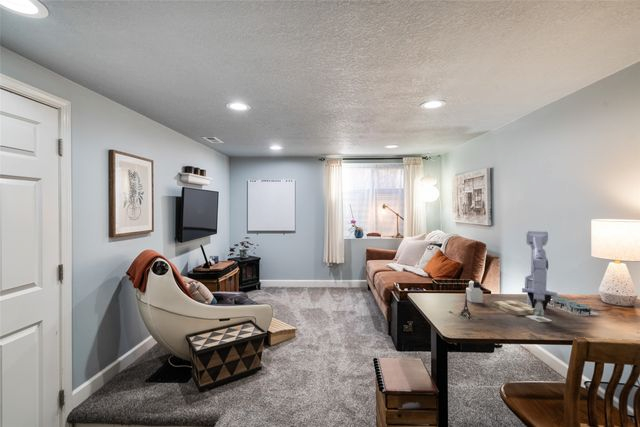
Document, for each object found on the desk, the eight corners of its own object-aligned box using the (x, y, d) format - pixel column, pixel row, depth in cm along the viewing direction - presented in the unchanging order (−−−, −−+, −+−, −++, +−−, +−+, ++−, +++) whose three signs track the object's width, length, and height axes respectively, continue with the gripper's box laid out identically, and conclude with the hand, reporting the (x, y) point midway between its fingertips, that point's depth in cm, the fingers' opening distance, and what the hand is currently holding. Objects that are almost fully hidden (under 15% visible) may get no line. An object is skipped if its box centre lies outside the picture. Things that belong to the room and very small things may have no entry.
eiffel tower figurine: (446, 312, 163) (447, 287, 162) (461, 310, 166) (461, 286, 166) (468, 322, 148) (469, 295, 148) (484, 320, 152) (484, 294, 152)
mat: (537, 315, 158) (537, 314, 158) (552, 321, 150) (552, 320, 150) (525, 316, 157) (525, 315, 157) (539, 322, 149) (539, 321, 149)
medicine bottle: (477, 299, 186) (478, 280, 185) (482, 303, 179) (483, 283, 178) (465, 298, 186) (466, 279, 186) (470, 302, 179) (470, 282, 179)
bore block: (515, 304, 177) (515, 300, 177) (540, 314, 161) (540, 309, 161) (492, 305, 173) (492, 301, 173) (515, 315, 158) (515, 310, 158)
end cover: (537, 313, 156) (538, 298, 156) (545, 316, 152) (546, 300, 152) (530, 313, 155) (531, 298, 155) (539, 317, 151) (540, 301, 151)
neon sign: (623, 306, 164) (578, 308, 159) (623, 314, 164) (578, 316, 159) (583, 295, 185) (542, 297, 180) (583, 302, 185) (542, 304, 180)
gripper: (522, 281, 154) (521, 307, 154) (558, 285, 146) (557, 313, 146) (522, 278, 160) (521, 304, 160) (556, 283, 152) (555, 309, 152)
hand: (538, 308), depth 153 cm, fingers closed on end cover, 4 cm apart
